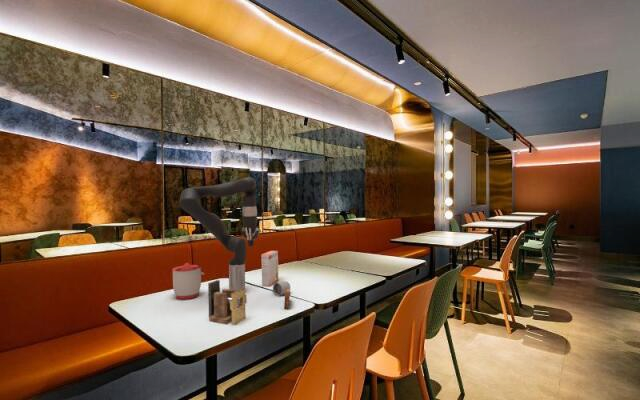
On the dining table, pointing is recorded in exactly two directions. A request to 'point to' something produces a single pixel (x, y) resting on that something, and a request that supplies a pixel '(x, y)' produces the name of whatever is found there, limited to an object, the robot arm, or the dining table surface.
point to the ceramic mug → (280, 288)
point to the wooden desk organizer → (212, 289)
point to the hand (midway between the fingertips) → (250, 246)
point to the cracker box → (269, 268)
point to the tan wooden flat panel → (239, 310)
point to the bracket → (222, 307)
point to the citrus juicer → (187, 281)
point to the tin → (287, 297)
